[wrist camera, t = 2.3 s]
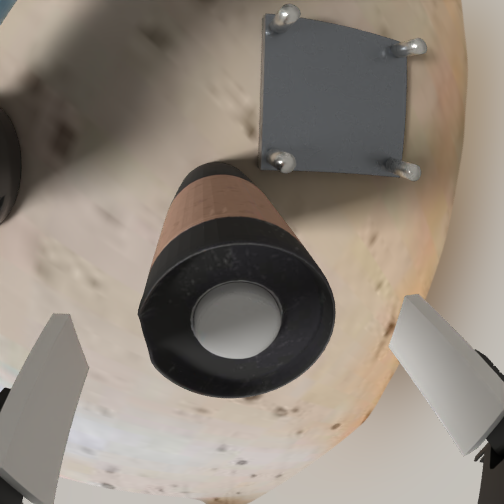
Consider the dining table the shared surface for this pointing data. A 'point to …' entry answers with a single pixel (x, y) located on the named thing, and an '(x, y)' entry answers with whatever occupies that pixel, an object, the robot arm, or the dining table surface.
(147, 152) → the dining table surface
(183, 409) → the dining table surface
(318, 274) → the travel mug
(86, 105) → the dining table surface
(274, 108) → the stand
